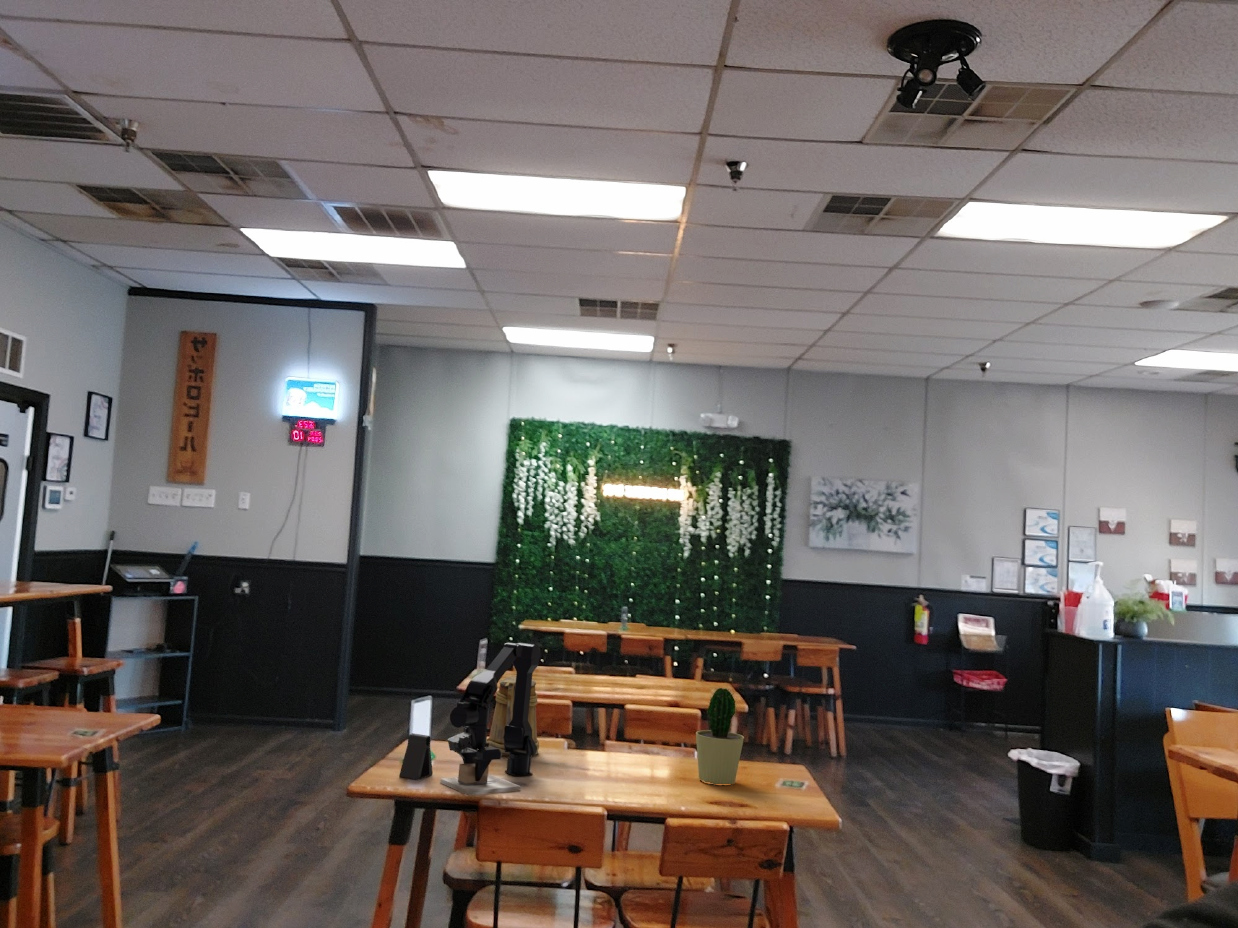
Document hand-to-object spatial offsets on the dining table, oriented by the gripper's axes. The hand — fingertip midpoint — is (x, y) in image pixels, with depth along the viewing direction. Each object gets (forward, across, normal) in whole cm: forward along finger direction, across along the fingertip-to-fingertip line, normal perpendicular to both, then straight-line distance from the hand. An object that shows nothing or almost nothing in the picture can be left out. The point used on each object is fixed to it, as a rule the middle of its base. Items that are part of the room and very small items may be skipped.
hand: (472, 779), depth 291 cm
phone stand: (+2, -18, -8) cm, 20 cm away
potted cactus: (+2, +21, +78) cm, 81 cm away
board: (+2, 0, +3) cm, 4 cm away
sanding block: (+1, 0, 0) cm, 1 cm away
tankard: (+2, -37, +38) cm, 53 cm away
